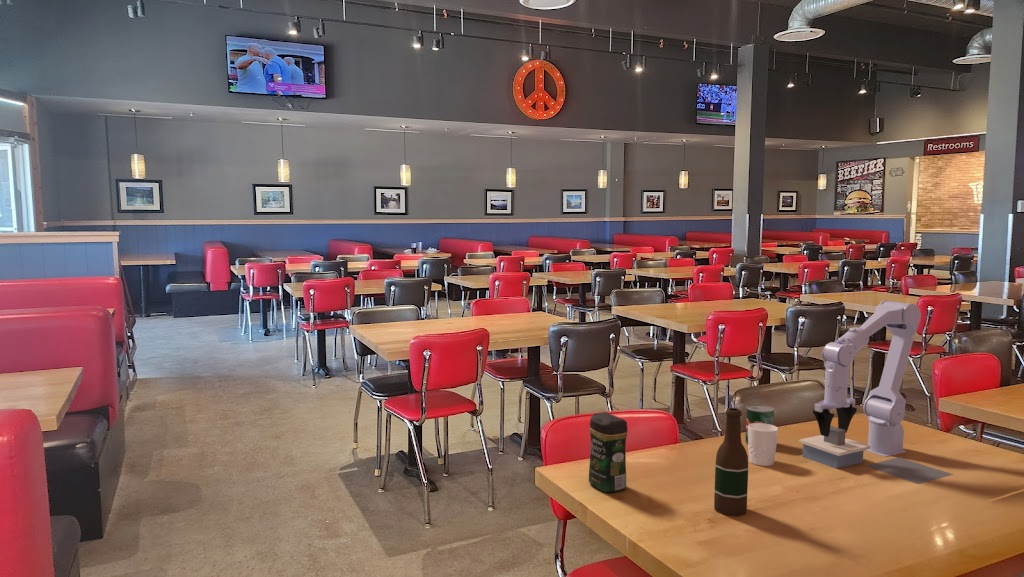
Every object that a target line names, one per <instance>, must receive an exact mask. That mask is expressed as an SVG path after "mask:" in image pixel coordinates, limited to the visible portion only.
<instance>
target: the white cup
mask: <svg viewBox="0 0 1024 577" xmlns="http://www.w3.org/2000/svg"><path fill="white" fill-rule="evenodd" d="M778 433H779V428H778V427H777V426H776V425H774V424H773V425H770V424H764V423H752V424H749V425H748V444H747V449H748V450H747V451H748V463H751V464H753V465H756V466H761V467H763V466H764V467H770V466H773V465H774V464H775V458H776V454H777V453H776V452H777V444H778V435H779V434H778Z"/></svg>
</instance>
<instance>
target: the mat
mask: <svg viewBox="0 0 1024 577" xmlns="http://www.w3.org/2000/svg"><path fill="white" fill-rule="evenodd" d="M865 467H867V468H870V469H873V470H876V471H878V472H882V473H885V474H887V475H891V476H893V477H896V478H899V479H902V480H905V481H908V482H911V483H913V484H916V485H921V484H924V483H927V482H930V481H935V480H939V479H941V478H945V477H950V476H952V475H953V473H950V472H948V471H944V470H940V469H937V468H934V467H931V466H928V465H926V464H921V463H919V462H916V461H912V460H909V459H905V458H903V457H895V458H891V459H886V460H882V461H878V462H875V463H870V464H866V465H865Z"/></svg>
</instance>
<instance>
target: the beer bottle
mask: <svg viewBox="0 0 1024 577" xmlns="http://www.w3.org/2000/svg"><path fill="white" fill-rule="evenodd" d="M725 415H726V421H725V431H724V438H723V442H721V444H720V446H718V448H717V451H716V456H715V457H716V458H715V465H714V466H715V468H714V496H713V498H714V502H713V505H714V506H713V507H714V511H716V512H717V513H719V514H721V515H723V516H729V517H739V516H743V515H746V514H747V506H748V486H749V485H748V482H749V454H748V453H747V449H746V448H745V446H744V444H743V443H742V436H741V435H742V431H741V430H742V429H741V427H742V424H741V417H742V415H743V413H742V410H741V409H740V408H737V407H729V408H726V411H725Z"/></svg>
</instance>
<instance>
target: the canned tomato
mask: <svg viewBox="0 0 1024 577" xmlns="http://www.w3.org/2000/svg"><path fill="white" fill-rule="evenodd" d="M745 408H746V413H745V414H746V415H745V416H746V417H745V418H746V420H745V441H744V442H745V444H746V445H748V425H749V424H752V423H764V424H770V425H773V426H774V422H775V420H774V418H775V408H774V407H772V406H769V405H765V404H749V405H747V406H746V407H745Z"/></svg>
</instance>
